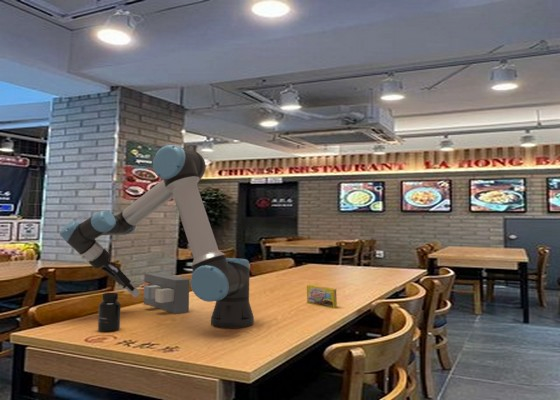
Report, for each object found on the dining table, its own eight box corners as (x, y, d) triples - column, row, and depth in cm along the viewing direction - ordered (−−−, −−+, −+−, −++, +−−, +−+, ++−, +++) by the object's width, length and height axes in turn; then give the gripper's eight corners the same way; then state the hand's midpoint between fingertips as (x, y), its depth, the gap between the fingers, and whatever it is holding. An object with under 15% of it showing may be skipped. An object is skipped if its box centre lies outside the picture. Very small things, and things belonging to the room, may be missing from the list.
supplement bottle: (96, 333, 146) (97, 295, 147) (99, 328, 153) (100, 292, 153) (119, 331, 148) (120, 294, 149) (120, 327, 155) (121, 291, 155)
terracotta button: (148, 294, 194) (148, 283, 194) (143, 293, 197) (143, 282, 197) (165, 292, 199) (165, 282, 199) (160, 291, 202) (160, 280, 203)
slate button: (148, 299, 182) (148, 287, 182) (143, 297, 186) (143, 286, 186) (166, 297, 187) (166, 285, 188) (161, 295, 191) (161, 284, 191)
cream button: (160, 303, 174) (160, 290, 174) (155, 301, 177) (155, 289, 178) (179, 300, 179) (179, 289, 179) (173, 299, 183) (174, 287, 183)
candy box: (306, 303, 201) (306, 284, 201) (309, 303, 202) (309, 284, 203) (333, 309, 189) (333, 289, 189) (337, 308, 190) (337, 288, 191)
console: (175, 314, 176) (175, 280, 177) (143, 303, 198) (144, 273, 199) (188, 312, 180) (189, 279, 181) (156, 301, 202) (157, 272, 203)
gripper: (83, 261, 175) (124, 300, 185) (94, 263, 165) (137, 304, 175) (97, 246, 179) (137, 285, 189) (109, 248, 169) (150, 289, 179)
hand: (137, 294), depth 182 cm, fingers closed
